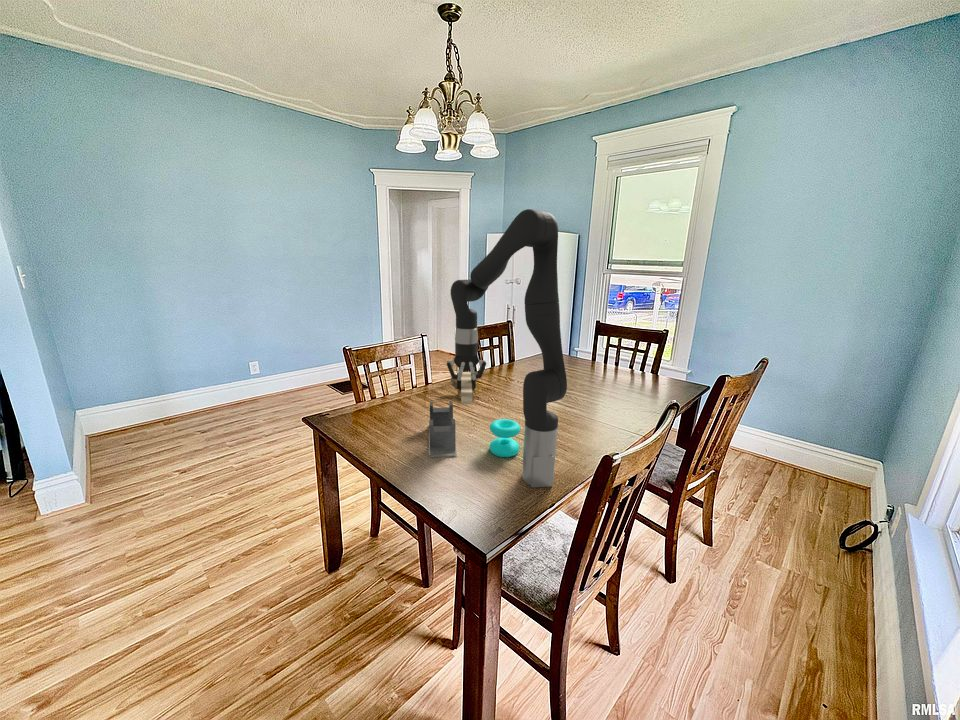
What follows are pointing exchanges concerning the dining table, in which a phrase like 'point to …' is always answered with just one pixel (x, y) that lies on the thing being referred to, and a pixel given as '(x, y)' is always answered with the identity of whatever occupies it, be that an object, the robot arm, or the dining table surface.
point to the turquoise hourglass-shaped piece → (504, 437)
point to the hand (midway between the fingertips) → (466, 389)
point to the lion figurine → (454, 384)
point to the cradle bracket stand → (442, 432)
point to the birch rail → (466, 388)
